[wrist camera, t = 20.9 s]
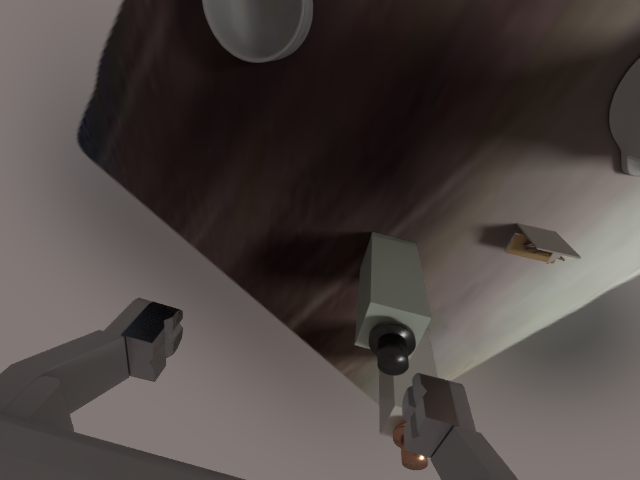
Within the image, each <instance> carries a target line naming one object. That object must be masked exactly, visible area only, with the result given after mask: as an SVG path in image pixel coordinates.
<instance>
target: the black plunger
mask: <svg viewBox="0 0 640 480" xmlns="http://www.w3.org/2000/svg"><path fill="white" fill-rule="evenodd" d="M369 347H370V349H371V351H372V352H373V353H374V354H375V355H377V361H378V368H379V370H380V371H381V372H383V373H385V374H387V375H392V376H397V375H401V374H403V373H405V372H406V371H407V370H408V368H409V362H408V356H409V355H410V354H412V353H413V351H414V350H415V347H416V340H415V335H414V332H413V331H412V329H411V328H410V327H408V326H407V325H405V324H403V323H400V322H396V321H386V322H382V323H379V324H377V325H375V326H374V327H373V328H372V329H371V331H370V333H369Z"/></svg>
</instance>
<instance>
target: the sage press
mask: <svg viewBox="0 0 640 480" xmlns="http://www.w3.org/2000/svg"><path fill="white" fill-rule="evenodd" d="M431 319H432V317H431V312H430V307H429V302H428V298H427V293H426V288H425V283H424V278H423V273H422V269H421V264H420V259H419V254H418V249H417V244H416V243H414V242H410V241H406V240H402V239H398V238H395V237H391V236H387V235H383V234H379V233H375V232H372V234H371V237H370V240H369V243H368V246H367V249H366V252H365V255H364V258H363V261H362V264H361V267H360V278H359V292H358V305H357V318H356V332H355V345H357V346H360V347H364V348H368V349H370V347H369V333H370V331H371V329H372V328H373V327H374V326H375V325H377V324H379V323H382V322H386V321H396V322H400V323H403V324H405V325H407V326H408V327H410V328H411V329H412V331H413V332H414V335H415V340H416V347H415V350H416V348H417V346H418V344H419V342H420V340H421V338H422V336H423V334H424V332H425V330H426V328H427V326H428V324H429V322H430V320H431ZM415 350H414V351H413V353H412V354H410V355H409V356H408V359H411V357H412V356H413V354H414V352H415Z"/></svg>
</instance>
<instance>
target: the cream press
mask: <svg viewBox="0 0 640 480" xmlns="http://www.w3.org/2000/svg"><path fill="white" fill-rule="evenodd" d="M408 362H409V368H408V370H407V371H406V372H405V373H403V374H401V375H397V376H392V375H387V374H385V373H383V372H381V371H380V370H379V407H380V434H381V435H384V436H388V437H392V438H393V429H394V428H395V427H396V426H397V425H399V424H401V423H406V421H405V420H404V418H403V417H402V402H403V398H404V394H405V392H406V390H407V388H408V387H410V386H413V385H412V379H413V377H414V375H415V374H416V373H421V374H425V375H429V376H433V377H437V378H438V376H437V371H436V365H435V360H434V355H433V349H432V344H431V339H430V333H429V329H426V330H425V332H424V334H423V336H422V338H421V340H420V342H419V344H418V346H417V348H416V350H415V352H414V354H413V356H412V357H411V359H408Z"/></svg>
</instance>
